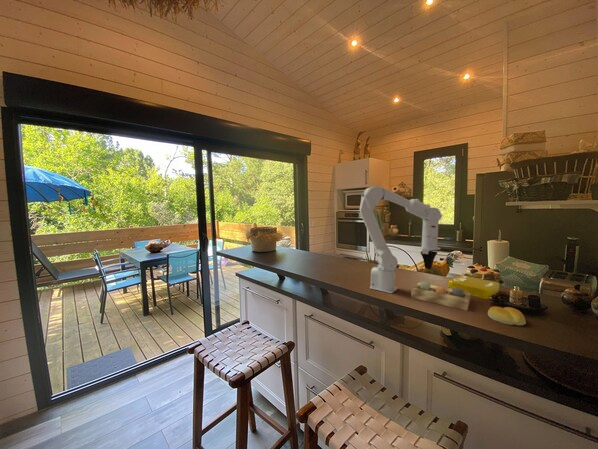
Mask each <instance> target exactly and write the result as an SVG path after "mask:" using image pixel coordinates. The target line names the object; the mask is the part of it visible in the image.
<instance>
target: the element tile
mask: <svg viewBox="0 0 598 449" xmlns="http://www.w3.org/2000/svg"><path fill="white" fill-rule="evenodd" d="M447 288H450V289H452V288H460V289H463V290H464V291H466V292H471V295H470V297H471V296H472V297H476V298H481V299H484V300H491V299H490V297H491V296H492V295H494V294H496V293H498V292H499V291H500V283H499V282H498V281H493V280H487V279H483V278H480V277H479V278H477V277H473V276H467V275H462V274H461V275H459V274H458V275H457V276H455V277H453V278H451V279H449V280H448V287H447ZM499 293H500V292H499ZM499 293H498V294H499Z"/></svg>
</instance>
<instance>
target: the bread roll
mask: <svg viewBox="0 0 598 449" xmlns="http://www.w3.org/2000/svg"><path fill="white" fill-rule="evenodd" d="M487 315H488V317H489V318H490V319H492V320H493V321H495V322H498V323H501V324H504V325H511V326H514V325H515V326H516V327H517V326H524V325H526V323H527V322H526V316H524V314H523V312H521V311H520V310H519V309H517V308H514V307H510V306H505V307H501V306H495V305H494V306H491V307H489V309H488V311H487Z"/></svg>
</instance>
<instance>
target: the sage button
mask: <svg viewBox="0 0 598 449" xmlns="http://www.w3.org/2000/svg"><path fill="white" fill-rule="evenodd" d="M419 283H420V289H424V290H428V291H430V285H431V283H430V282H428V281H420V282H419Z"/></svg>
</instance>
